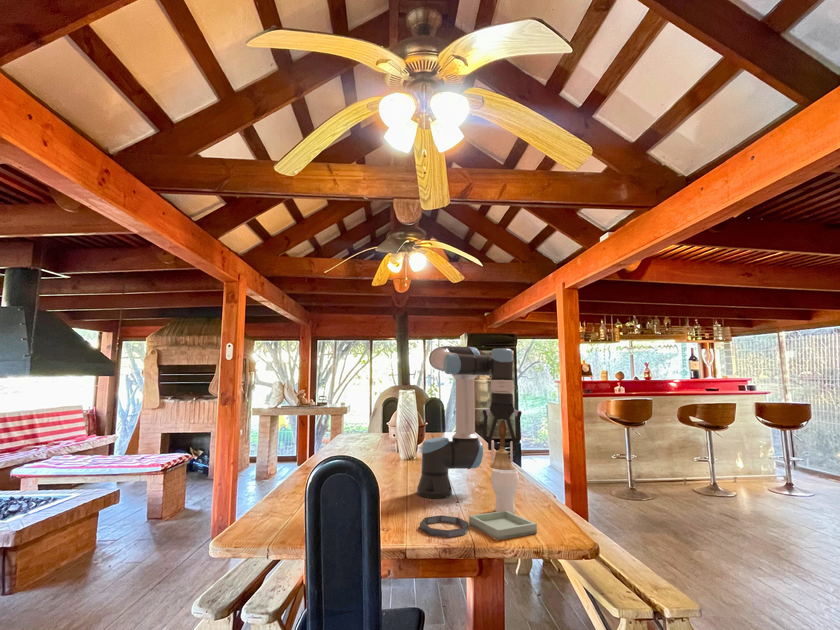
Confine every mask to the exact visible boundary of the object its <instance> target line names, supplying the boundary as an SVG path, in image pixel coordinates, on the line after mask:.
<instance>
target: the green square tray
mask: <svg viewBox="0 0 840 630" xmlns="http://www.w3.org/2000/svg"><path fill="white" fill-rule="evenodd" d="M468 517H469V518H468V523H469V527H472V528H474V529H475V530H478V531H480V532H482V533H483V534H485V535H487V536H489V535H490V536H489V537H491V538H492V539H494V538H495V539H494V540H496V539H497V541H501V540H500V539H503V540H508V539H512V538H518V537H523V536H529V534H530V535H535V533H536V534H537V533H538V531H537V530H538V528H537V527H538V526H537V525H538V524H537V523H536V522H534V521H532V520H529V519H527V518H524V517H522V516H520V515H517V514H516V513H511V512H508V511H506V510H505V511H498V512H496V511H492V512H486V513H478V514H472V515H468Z"/></svg>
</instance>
